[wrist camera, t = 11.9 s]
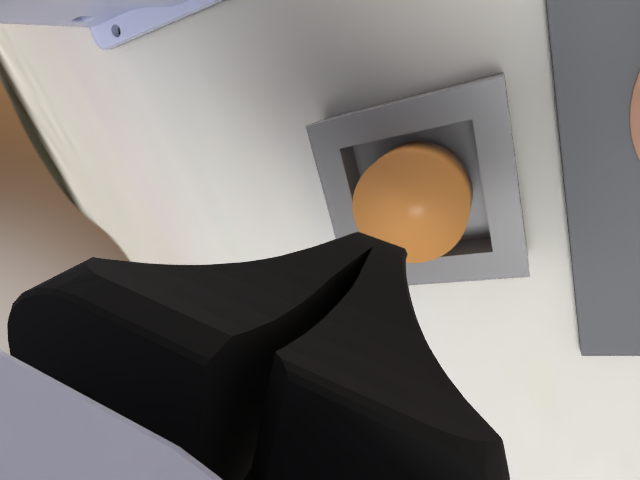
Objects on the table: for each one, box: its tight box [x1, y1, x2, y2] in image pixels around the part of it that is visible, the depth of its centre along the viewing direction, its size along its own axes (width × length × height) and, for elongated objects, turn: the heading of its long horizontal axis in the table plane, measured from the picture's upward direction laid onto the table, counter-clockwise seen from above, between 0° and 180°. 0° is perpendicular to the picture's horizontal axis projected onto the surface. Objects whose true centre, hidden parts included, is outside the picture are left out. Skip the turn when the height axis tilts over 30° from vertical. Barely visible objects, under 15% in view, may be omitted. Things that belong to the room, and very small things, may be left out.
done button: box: [352, 141, 473, 263], centre depth 16 cm, size 4×4×2 cm
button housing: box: [306, 73, 530, 285], centre depth 17 cm, size 7×7×2 cm
